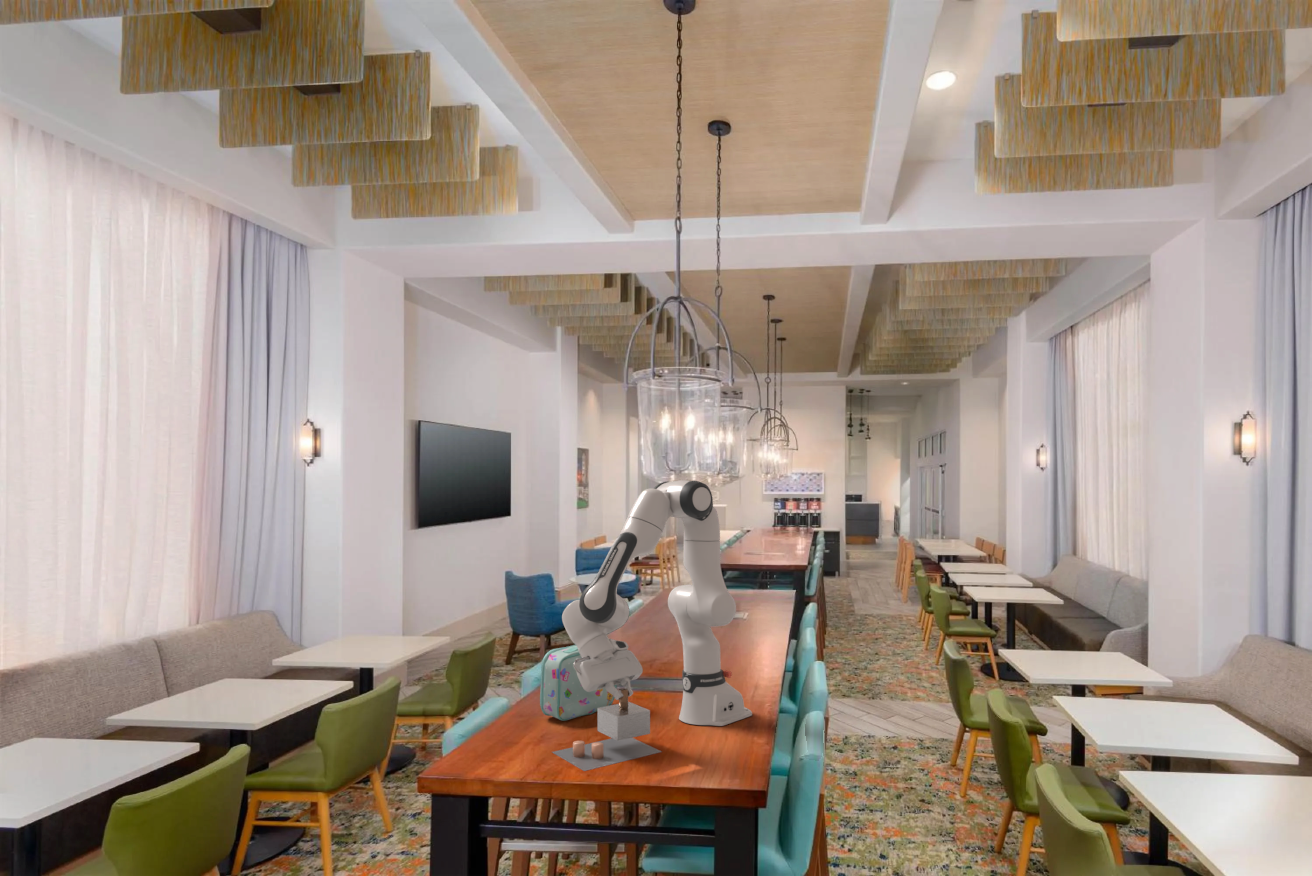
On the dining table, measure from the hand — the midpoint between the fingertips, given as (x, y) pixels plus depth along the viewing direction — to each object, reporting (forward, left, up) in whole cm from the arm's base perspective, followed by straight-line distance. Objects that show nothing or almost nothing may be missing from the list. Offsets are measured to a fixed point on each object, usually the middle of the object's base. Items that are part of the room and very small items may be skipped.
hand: (625, 696), depth 211 cm
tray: (+6, -1, -14) cm, 15 cm away
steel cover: (0, -1, -9) cm, 9 cm away
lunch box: (-8, -40, -15) cm, 43 cm away
